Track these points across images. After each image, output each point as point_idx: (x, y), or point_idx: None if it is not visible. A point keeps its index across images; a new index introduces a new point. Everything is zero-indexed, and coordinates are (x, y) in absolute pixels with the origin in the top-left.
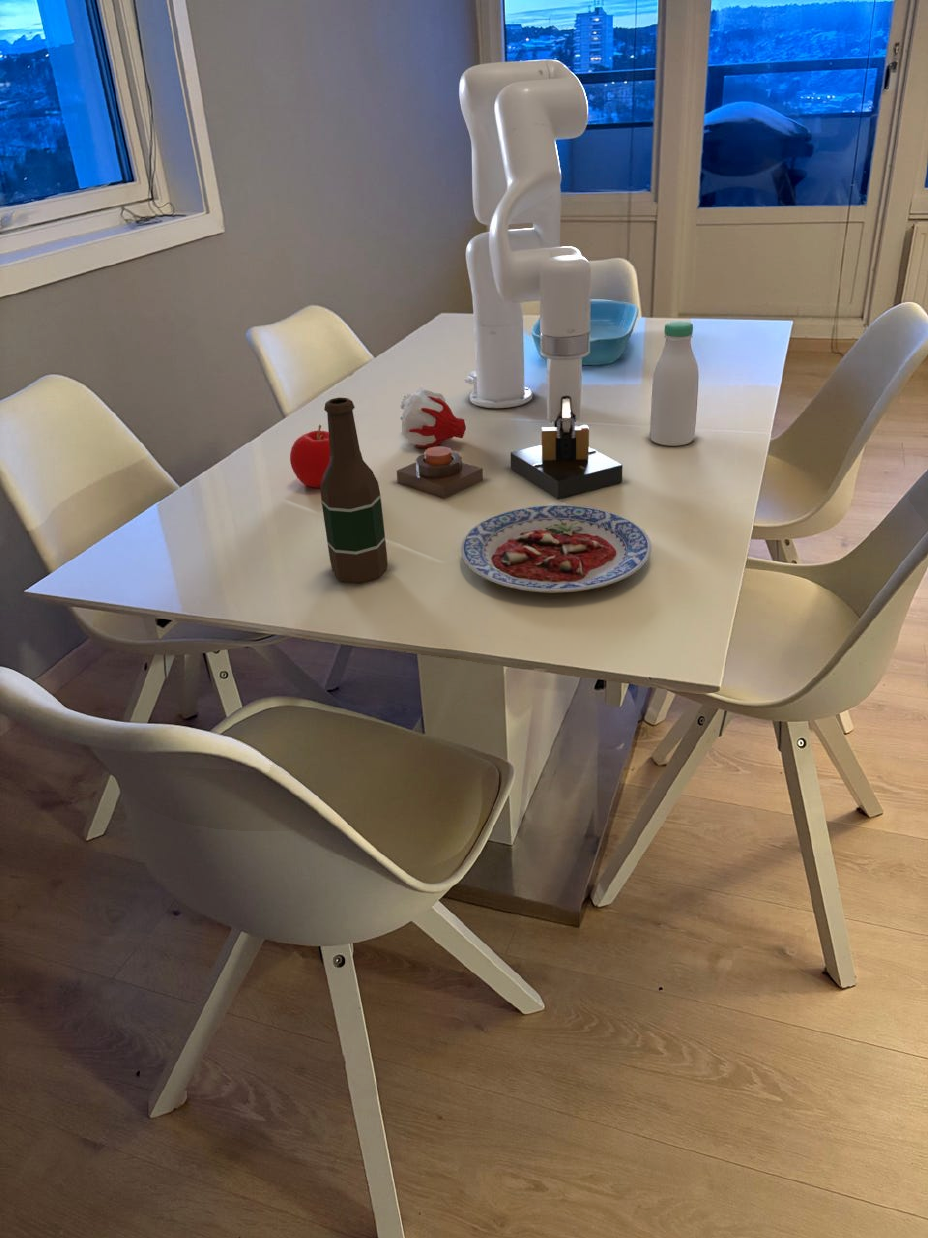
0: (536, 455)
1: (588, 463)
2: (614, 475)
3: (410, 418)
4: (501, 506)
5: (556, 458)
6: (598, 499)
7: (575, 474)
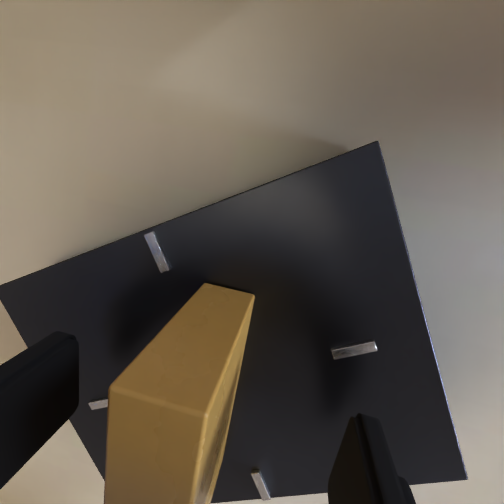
0: (281, 273)
1: None
2: None
3: None
4: (8, 64)
5: (47, 340)
6: None
7: None
